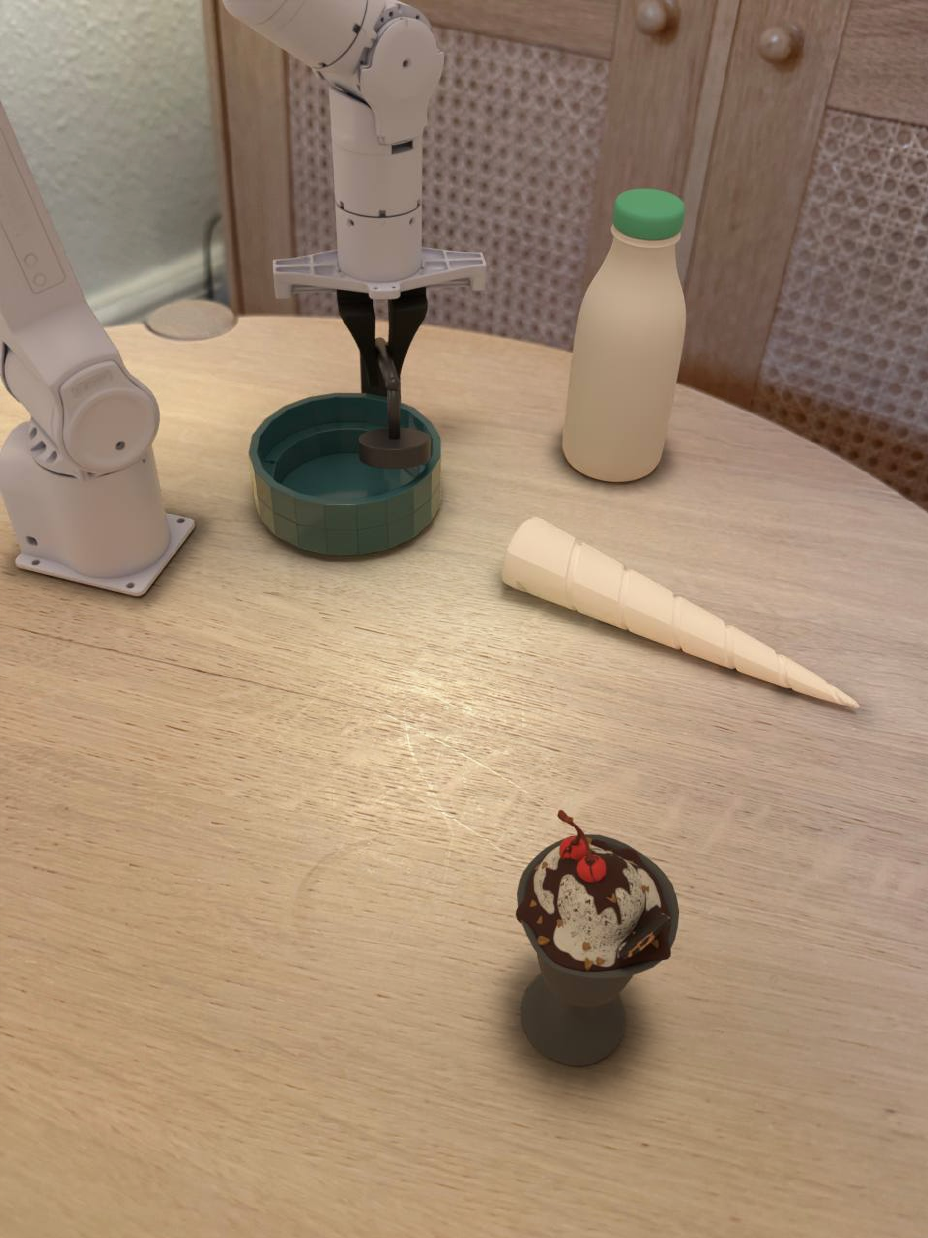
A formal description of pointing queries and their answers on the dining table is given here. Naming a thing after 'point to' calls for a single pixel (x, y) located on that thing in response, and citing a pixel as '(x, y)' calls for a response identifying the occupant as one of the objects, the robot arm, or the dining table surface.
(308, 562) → the dining table surface
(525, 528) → the unicorn horn
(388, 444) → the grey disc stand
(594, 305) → the milk bottle
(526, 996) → the sundae
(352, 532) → the bowl
